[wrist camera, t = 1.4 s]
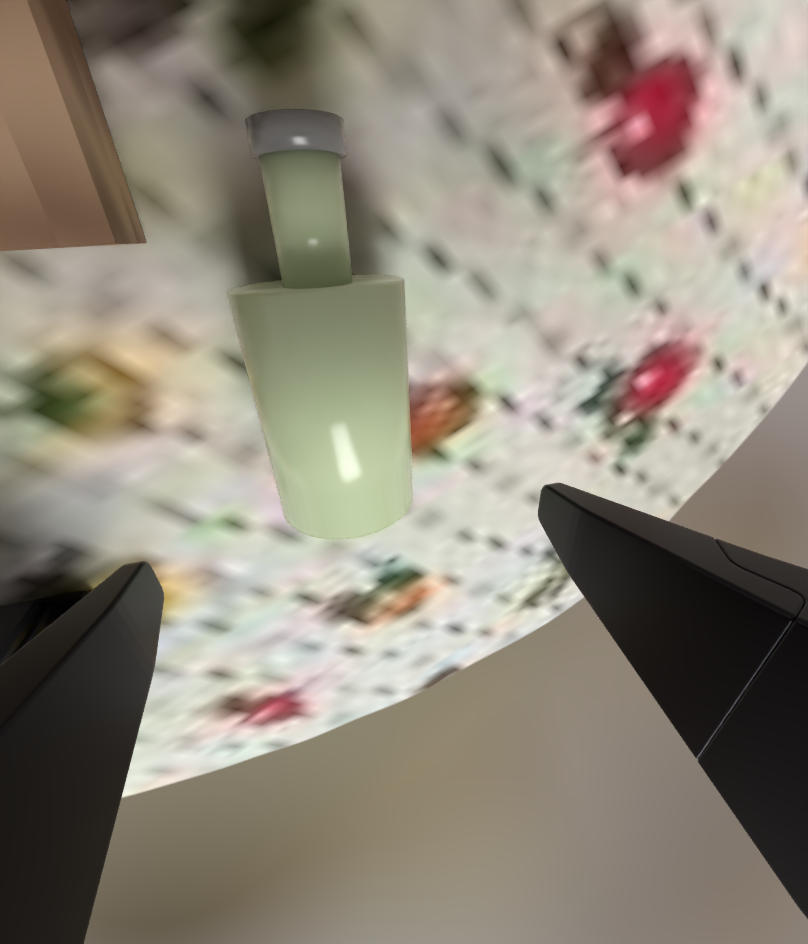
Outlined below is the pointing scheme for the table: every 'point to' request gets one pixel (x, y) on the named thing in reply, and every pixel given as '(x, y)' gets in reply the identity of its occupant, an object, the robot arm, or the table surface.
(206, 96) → the table surface
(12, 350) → the table surface
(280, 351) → the bottle
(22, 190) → the rest
